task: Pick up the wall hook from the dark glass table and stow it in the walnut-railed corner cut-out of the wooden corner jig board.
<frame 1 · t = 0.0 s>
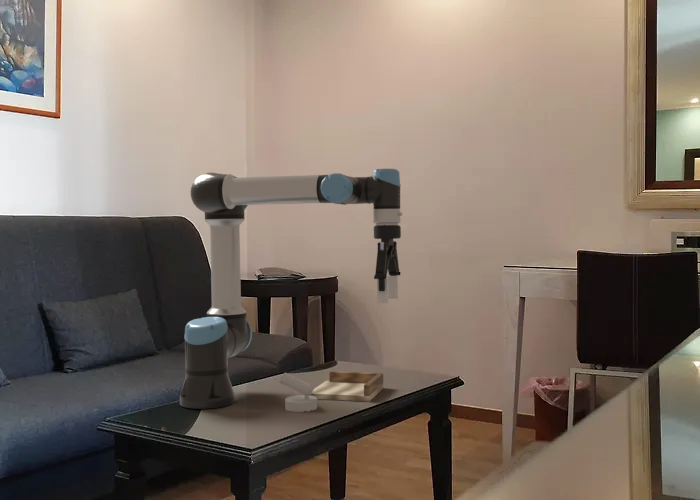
hand: (388, 300, 210), 28 cm above the table, fingers open, 13 cm apart
wooden corner jig board: (346, 393, 221), on the table
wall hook: (298, 408, 204), on the table
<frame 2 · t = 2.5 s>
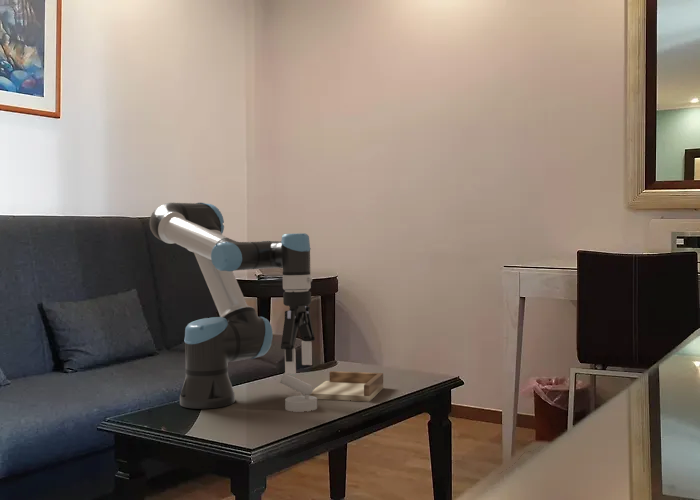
hand: (299, 369, 203), 11 cm above the table, fingers open, 13 cm apart
nothing on the table moved.
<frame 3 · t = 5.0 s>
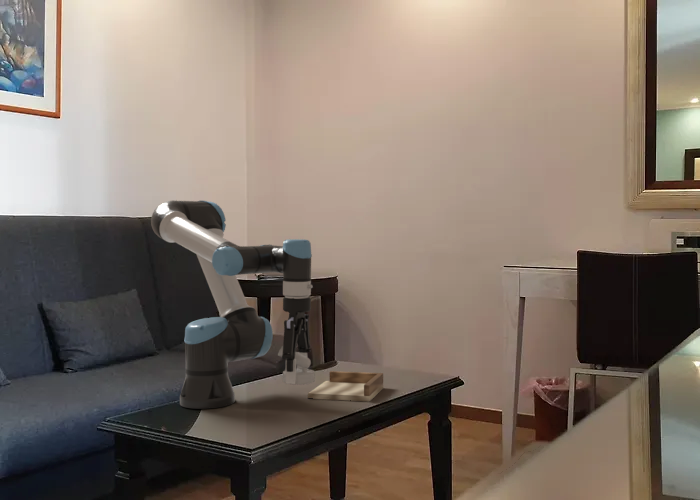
hand: (296, 379, 204), 8 cm above the table, fingers closed on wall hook, 9 cm apart
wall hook: (296, 381, 204), point 7 cm above the table, touching gripper
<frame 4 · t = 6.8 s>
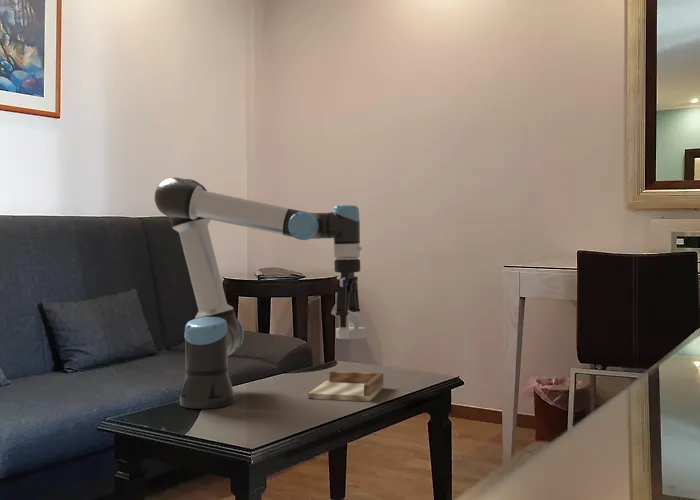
hand: (348, 336, 219), 17 cm above the table, fingers closed on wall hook, 9 cm apart
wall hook: (348, 337, 219), point 16 cm above the table, touching gripper
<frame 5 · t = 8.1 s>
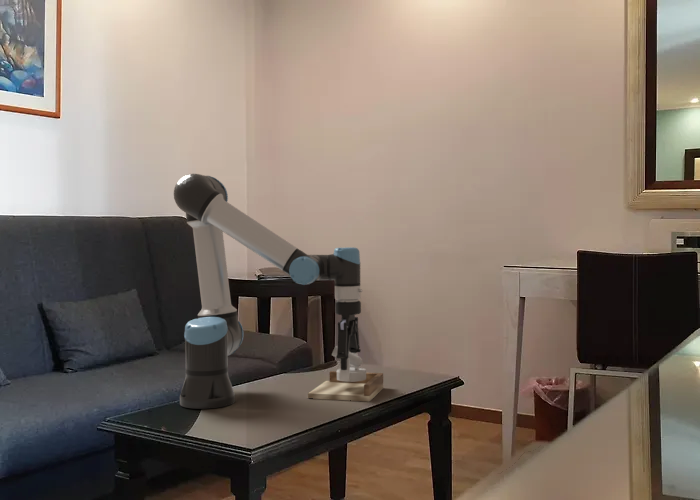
hand: (349, 377, 220), 5 cm above the table, fingers closed on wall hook, 9 cm apart
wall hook: (349, 379, 220), point 4 cm above the table, touching gripper
when the fingers open (2 cm above the table, at t = 9.1 s): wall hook stays where it is, resting on wooden corner jig board.
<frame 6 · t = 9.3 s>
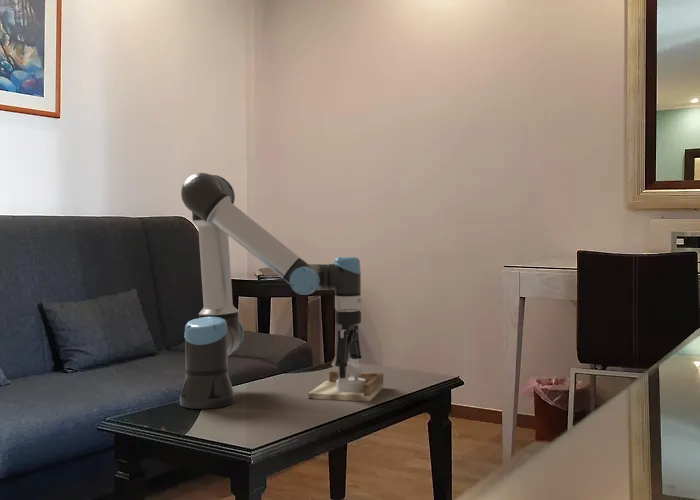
hand: (349, 384, 220), 3 cm above the table, fingers open, 11 cm apart
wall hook: (348, 389, 220), point 1 cm above the table, touching wooden corner jig board
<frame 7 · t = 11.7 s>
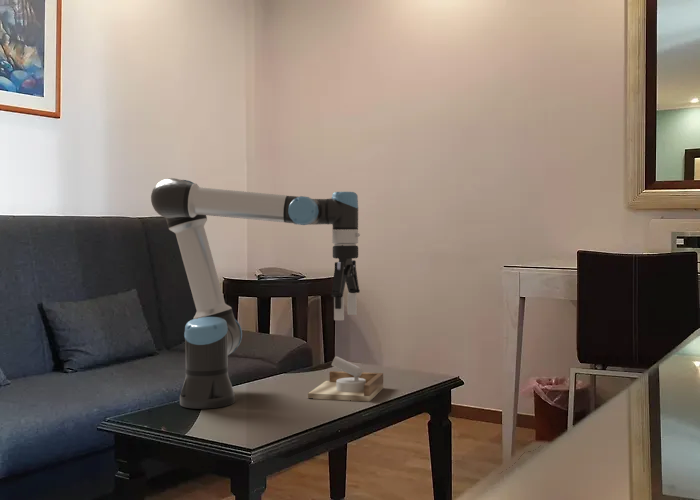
hand: (345, 317, 220), 22 cm above the table, fingers open, 13 cm apart
nothing on the table moved.
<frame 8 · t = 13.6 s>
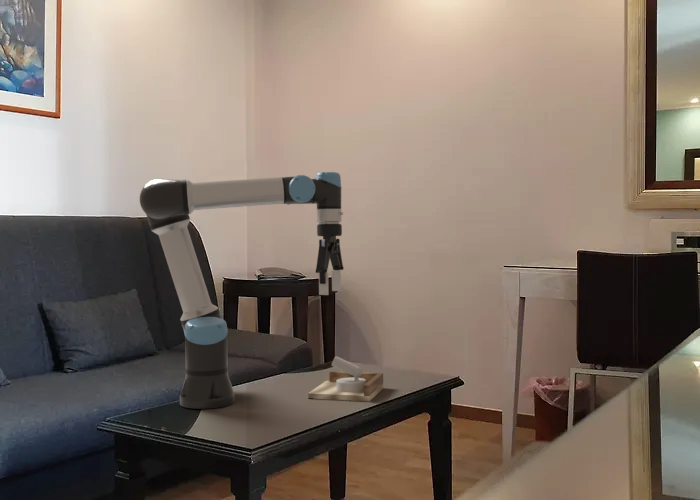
hand: (330, 292, 230), 29 cm above the table, fingers open, 13 cm apart
nothing on the table moved.
at the end: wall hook inside the target area on the wooden corner jig board (0.6 cm from its centre), point 1.3 cm above the wooden corner jig board's base; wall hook touching wooden corner jig board; the gripper is holding nothing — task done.
